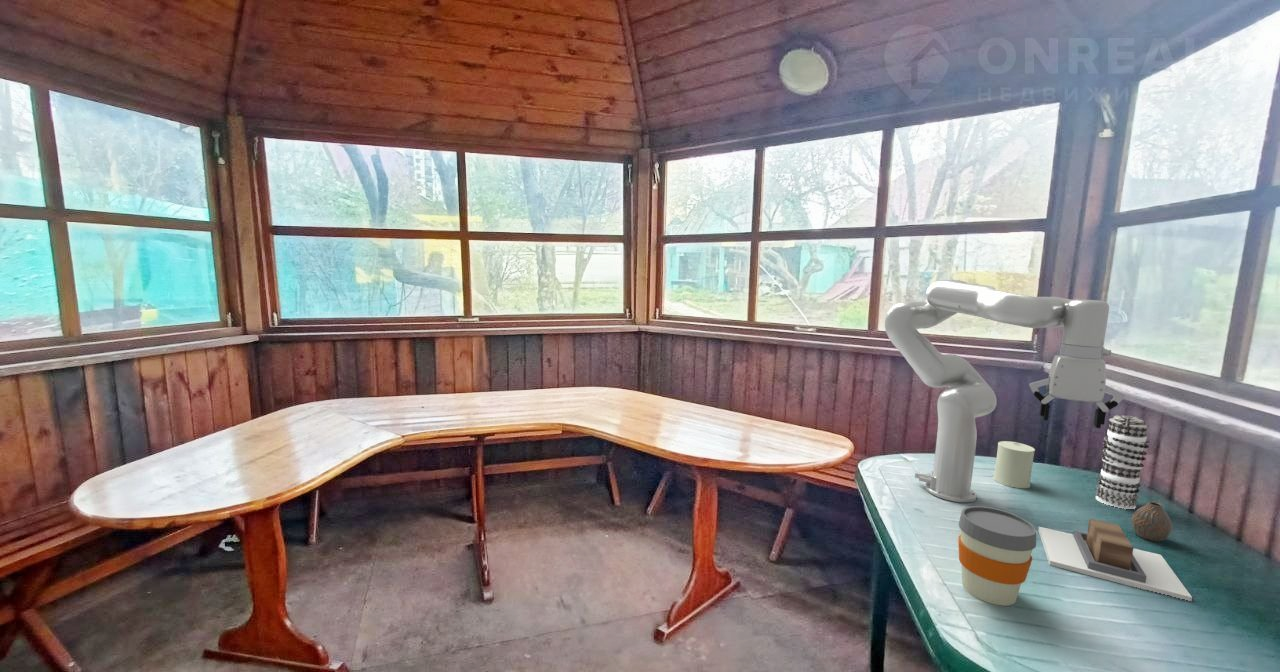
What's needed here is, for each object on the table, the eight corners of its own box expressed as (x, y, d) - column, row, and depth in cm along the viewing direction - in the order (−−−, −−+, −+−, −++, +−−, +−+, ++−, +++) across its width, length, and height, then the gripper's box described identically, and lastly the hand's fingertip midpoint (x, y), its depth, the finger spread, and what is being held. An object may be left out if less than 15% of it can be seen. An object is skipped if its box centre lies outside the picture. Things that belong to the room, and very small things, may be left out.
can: (1028, 480, 157) (1033, 443, 155) (1031, 491, 149) (1037, 452, 148) (992, 473, 162) (997, 437, 160) (994, 483, 154) (999, 445, 153)
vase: (1177, 546, 120) (1183, 512, 119) (1143, 542, 122) (1149, 508, 121) (1154, 532, 127) (1160, 499, 126) (1122, 528, 128) (1128, 495, 127)
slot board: (1049, 564, 111) (1051, 554, 111) (1038, 530, 126) (1039, 520, 126) (1191, 601, 100) (1193, 590, 99) (1160, 558, 115) (1161, 548, 114)
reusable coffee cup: (956, 564, 110) (964, 499, 108) (1028, 589, 102) (1038, 519, 100) (946, 592, 100) (955, 521, 98) (1025, 621, 93) (1037, 545, 91)
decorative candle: (1147, 511, 139) (1163, 423, 135) (1113, 509, 139) (1128, 421, 135) (1117, 496, 148) (1131, 413, 144) (1085, 495, 148) (1098, 412, 144)
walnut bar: (1085, 542, 119) (1089, 518, 118) (1114, 549, 117) (1118, 524, 116) (1097, 566, 109) (1101, 540, 108) (1128, 574, 106) (1133, 548, 106)
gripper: (1125, 354, 117) (1114, 425, 120) (1032, 346, 126) (1023, 413, 129) (1135, 359, 111) (1123, 434, 113) (1036, 350, 120) (1026, 420, 122)
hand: (1070, 422), depth 121 cm, fingers open, 9 cm apart
